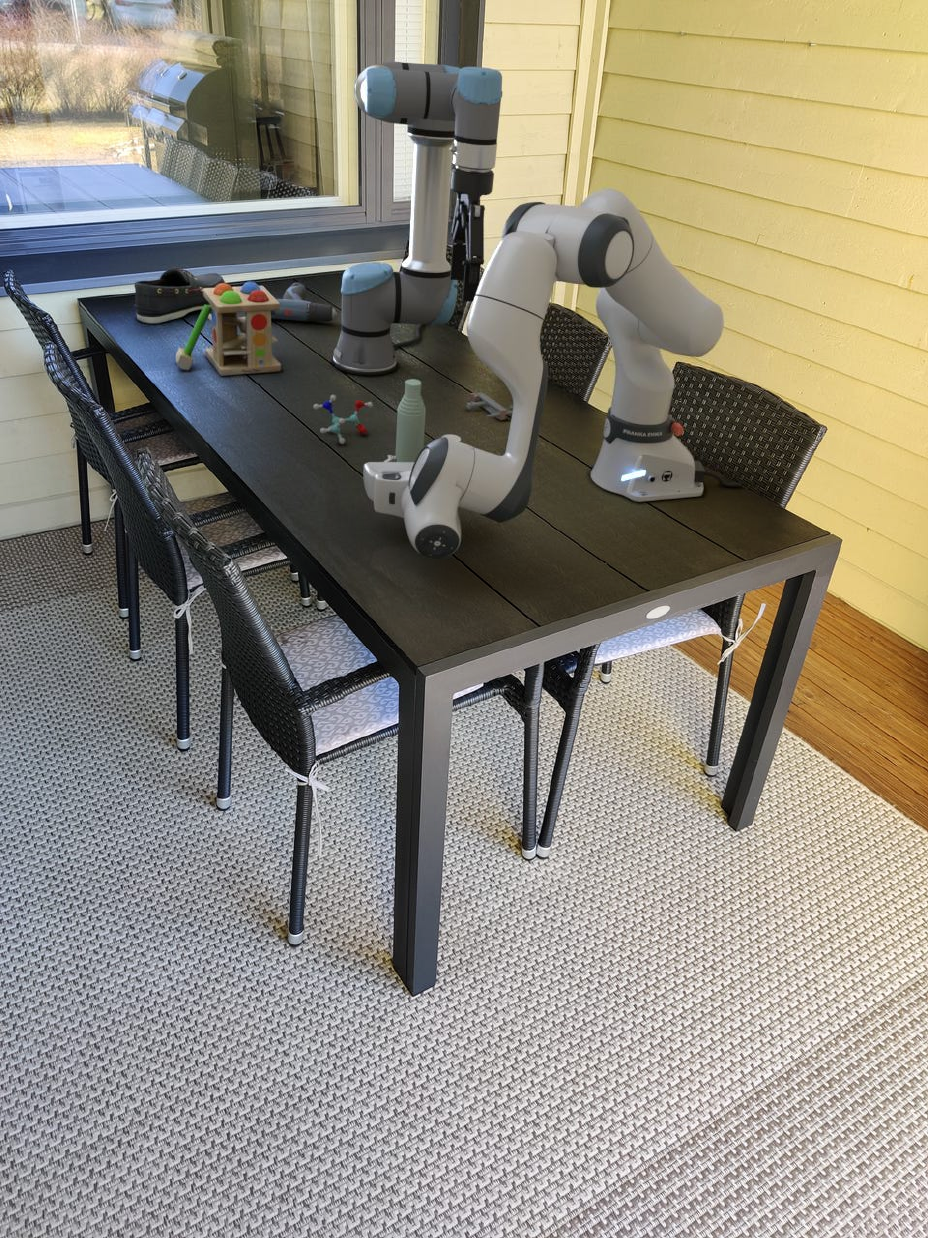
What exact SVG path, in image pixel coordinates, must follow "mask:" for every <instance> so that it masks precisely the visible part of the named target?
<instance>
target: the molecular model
mask: <svg viewBox="0 0 928 1238" xmlns="http://www.w3.org/2000/svg"><path fill="white" fill-rule="evenodd" d="M329 398H330V399H329V400H326V401H324V403H323V404H318V403H314V404H313V406H312V408H313V409H314V410H315V411H318V410H319V409H323V408H324V409H325V410H327V411H329V413H330V416H331V417H332V420H331V426H328V427H327V428H325V427H321V428H320V429H319V432H320V434H321V435H325V434H326V433H333V434H336V435H337V438H338V439H339V440H338V441H339V444H341V445H344V444H345V443H346V439H345V438H343V436H342V434H341V433H340V432H341V425H344V424H345V423H347V422H350V424H354V426H355V427H356V429H357V430H358V432H359V434H360V435H362V436H364V435H366V434H367V432H368V431H367V428H366V427H365V426H363V425H362V423H361V422H360V421H359V417H358V413H359V410H360V409H361V408H362V407H367V408H369V409H372V408H373V407H374V403H373V402H372V401H368V402H363V401H362V400H360V399H359V400H358V399H357V400H356V401H355V403H354V406H355V410H354V413H353V414H351V415H350V416H349V417H348V418H347V417H346V418H343V417H338V416H336V414H335V412H334V411H333V409H332V408H333V402H335V401H337V395H335V394H331V395H330V397H329Z"/></svg>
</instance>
